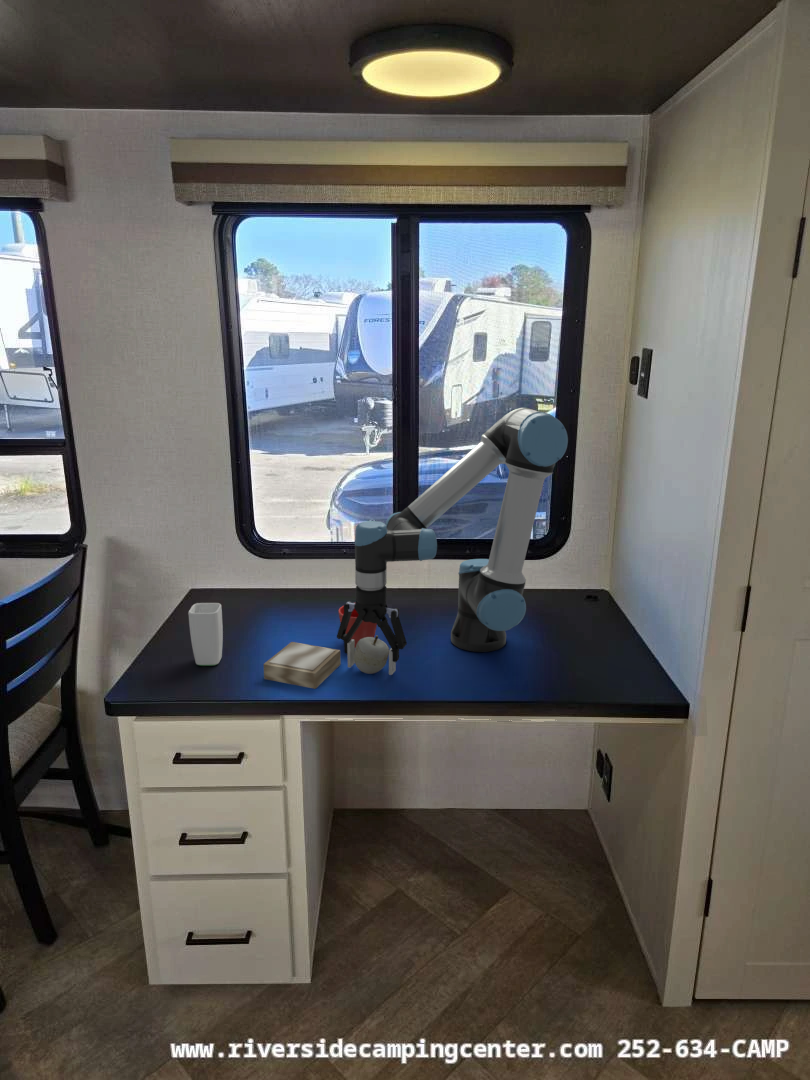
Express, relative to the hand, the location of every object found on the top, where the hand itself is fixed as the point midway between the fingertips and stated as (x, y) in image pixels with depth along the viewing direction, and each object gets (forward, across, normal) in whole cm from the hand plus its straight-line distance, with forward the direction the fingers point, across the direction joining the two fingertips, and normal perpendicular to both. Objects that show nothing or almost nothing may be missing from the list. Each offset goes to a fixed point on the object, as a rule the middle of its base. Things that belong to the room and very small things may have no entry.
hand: (371, 668), depth 183 cm
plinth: (+1, +16, +6) cm, 17 cm away
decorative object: (+1, 0, 0) cm, 1 cm away
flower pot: (+1, +10, -15) cm, 18 cm away
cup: (+1, +41, +10) cm, 42 cm away
